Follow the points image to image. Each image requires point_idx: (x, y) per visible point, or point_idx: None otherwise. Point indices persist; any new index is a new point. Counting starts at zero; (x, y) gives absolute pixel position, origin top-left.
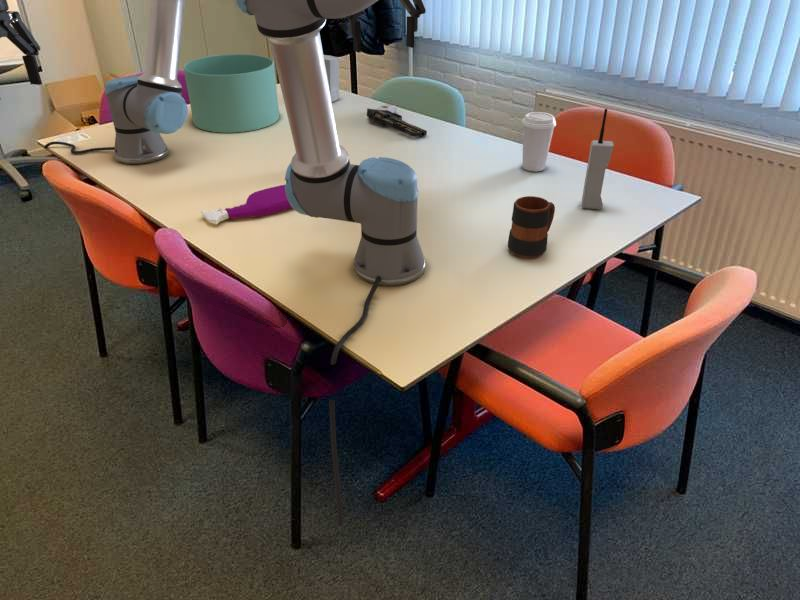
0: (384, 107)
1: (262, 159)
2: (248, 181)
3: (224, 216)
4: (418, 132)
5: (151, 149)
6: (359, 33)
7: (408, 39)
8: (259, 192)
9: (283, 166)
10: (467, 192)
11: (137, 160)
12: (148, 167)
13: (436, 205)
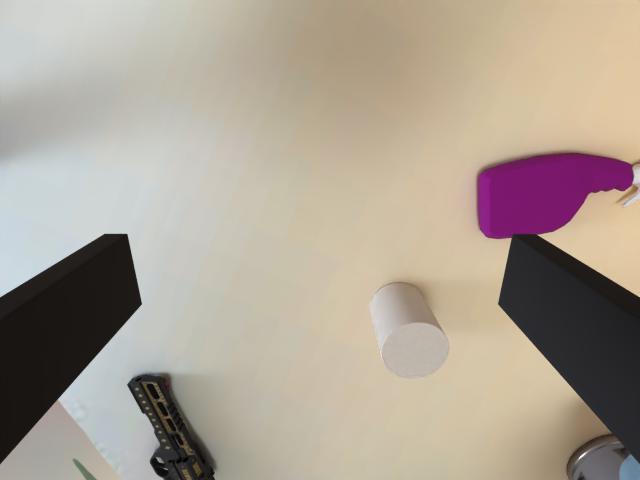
0: None
1: (450, 386)
2: None
3: (637, 166)
4: (146, 381)
5: (618, 455)
6: (613, 296)
7: (111, 299)
8: (550, 223)
9: None
10: (151, 88)
11: None
12: None
13: (240, 54)
